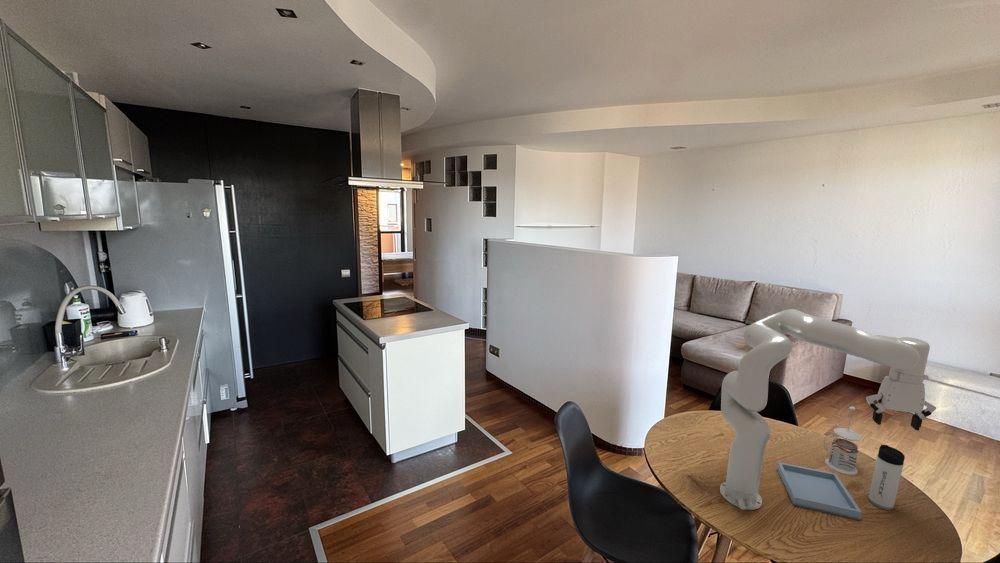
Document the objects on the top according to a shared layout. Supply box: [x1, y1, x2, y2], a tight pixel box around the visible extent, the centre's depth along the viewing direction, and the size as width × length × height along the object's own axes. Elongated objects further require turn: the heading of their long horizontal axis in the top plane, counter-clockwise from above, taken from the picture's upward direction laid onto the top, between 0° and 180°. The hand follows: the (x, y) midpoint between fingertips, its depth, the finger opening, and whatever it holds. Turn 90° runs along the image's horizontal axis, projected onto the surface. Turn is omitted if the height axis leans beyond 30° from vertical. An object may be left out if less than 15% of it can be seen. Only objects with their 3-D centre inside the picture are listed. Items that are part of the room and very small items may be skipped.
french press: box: [823, 406, 862, 476], centre depth 152 cm, size 10×12×25 cm
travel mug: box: [868, 444, 906, 511], centre depth 134 cm, size 6×7×20 cm
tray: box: [776, 461, 862, 521], centre depth 140 cm, size 20×18×3 cm
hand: (895, 425), depth 130 cm, fingers open, 9 cm apart
